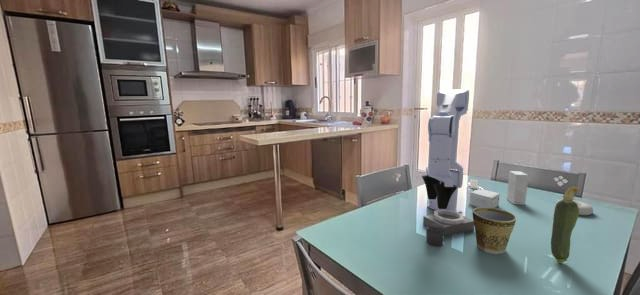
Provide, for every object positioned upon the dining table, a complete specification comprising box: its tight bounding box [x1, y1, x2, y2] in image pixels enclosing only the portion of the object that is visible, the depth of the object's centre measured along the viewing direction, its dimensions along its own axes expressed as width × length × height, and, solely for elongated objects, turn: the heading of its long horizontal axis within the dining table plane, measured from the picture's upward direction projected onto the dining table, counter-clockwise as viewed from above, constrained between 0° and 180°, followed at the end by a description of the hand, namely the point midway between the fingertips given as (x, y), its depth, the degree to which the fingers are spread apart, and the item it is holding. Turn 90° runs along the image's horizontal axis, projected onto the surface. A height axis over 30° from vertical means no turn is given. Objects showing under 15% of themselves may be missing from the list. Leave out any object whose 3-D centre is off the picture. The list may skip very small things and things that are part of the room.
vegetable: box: [550, 185, 580, 265], centre depth 67 cm, size 4×4×20 cm
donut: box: [555, 199, 594, 216], centre depth 99 cm, size 10×4×10 cm
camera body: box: [422, 209, 475, 238], centre depth 88 cm, size 9×12×4 cm
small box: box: [468, 188, 501, 208], centre depth 106 cm, size 8×8×5 cm
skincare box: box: [506, 170, 529, 206], centre depth 108 cm, size 6×4×12 cm
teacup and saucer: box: [463, 179, 484, 191], centre depth 127 cm, size 9×8×4 cm
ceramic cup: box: [472, 206, 517, 255], centre depth 76 cm, size 13×10×10 cm
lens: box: [426, 223, 444, 248], centre depth 78 cm, size 4×4×5 cm
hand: (436, 203), depth 80 cm, fingers open, 7 cm apart
